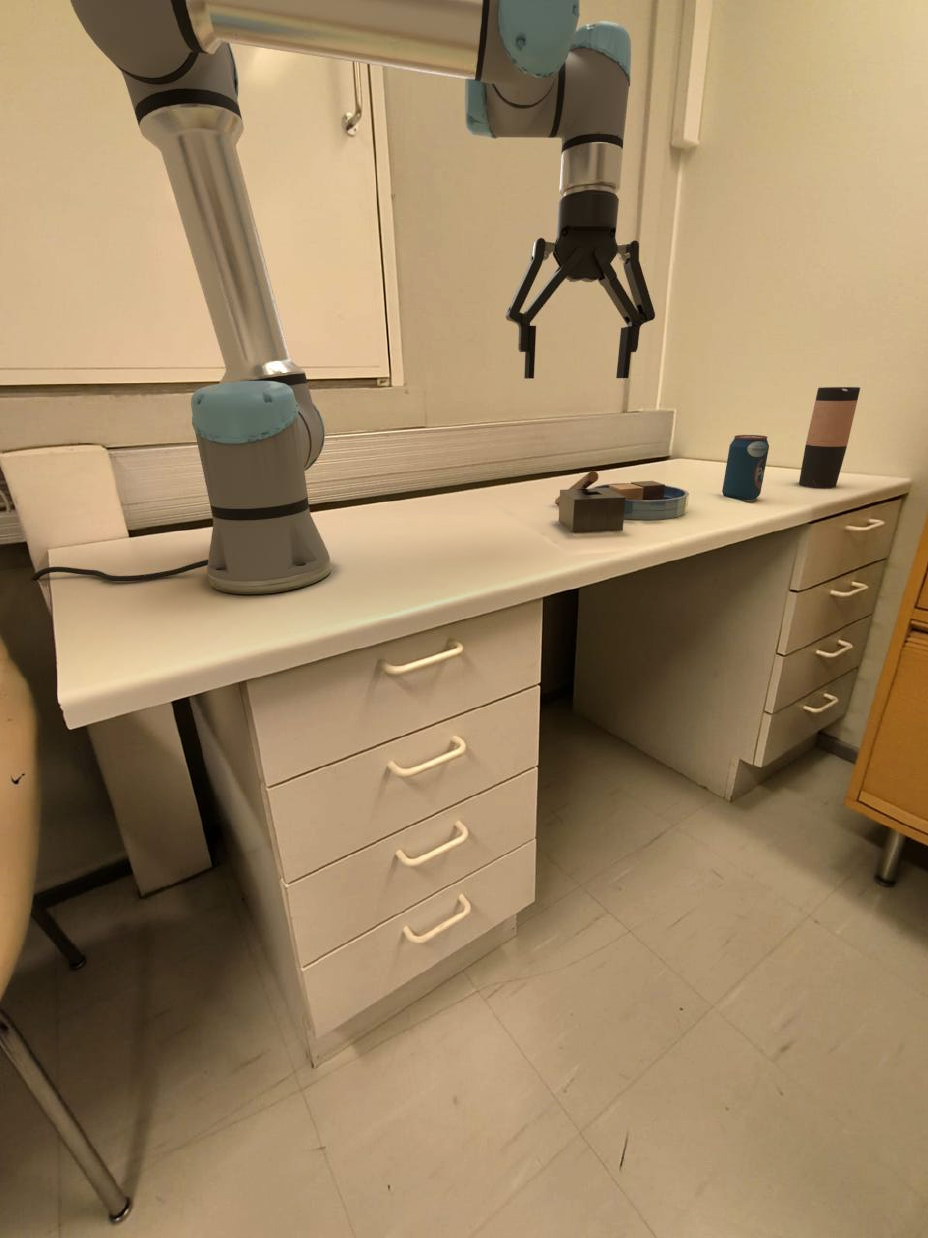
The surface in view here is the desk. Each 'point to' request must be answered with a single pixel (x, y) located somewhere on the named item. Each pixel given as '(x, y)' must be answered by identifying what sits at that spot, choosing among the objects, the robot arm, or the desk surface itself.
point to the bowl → (656, 505)
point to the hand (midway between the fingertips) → (576, 378)
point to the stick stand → (591, 510)
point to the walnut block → (651, 490)
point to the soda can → (745, 467)
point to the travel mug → (828, 436)
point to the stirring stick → (583, 482)
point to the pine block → (628, 491)
